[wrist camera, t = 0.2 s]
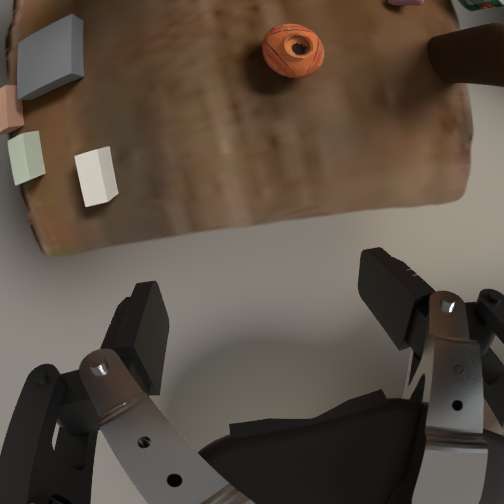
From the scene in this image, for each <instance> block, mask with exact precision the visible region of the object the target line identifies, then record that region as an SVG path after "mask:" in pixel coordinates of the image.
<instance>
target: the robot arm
mask: <svg viewBox="0 0 504 504" xmlns="http://www.w3.org/2000/svg"><path fill="white" fill-rule="evenodd" d="M358 291H359V294H360V297H361V298H362V300H363V301H364V302H365V304H366V305H367V306H368V308H369V309H370V310H371V312H372V313H373V315H374V316H375V317H376V319H377V320H378V321H379V323H380V324H381V326H382V327H383V328H384V330H385V331H386V332H387V334H388V335H389V337H390V338H391V340H392V341H393V342H394V344H395V345H396V346H397V348H398V350H399V351H400V350H403V349H406V348H408V347H411V348H412V349H413V350H412V353H411V356H410V362H409V368H408V374H407V380H406V385H405V391H404V395H403V398H386V396H385V395H384V393H383V391H382V389H381V390H378V391H375V392H372V393H369V394H366V395H363V396H360V397H357V398H354V399H350V400H348V401H346V402H344V403H342V404H340V405H338V406H337V407H335V408H333V409H331V410H329V411H327V412H325V413H323V414H321V415H320V416H317V417H315V418H312V419H263V420H257V421H250V422H243V423H236V424H235V423H234V424H229V427H230V435H227V436H225V437H222V438H220V439H217V440H215V441H213V442H212V443H210V444H208V445H207V446H205V447H204V448H202V449H201V450H200V451H199V452H198V453H197V452H196V451H195V450H194V449H193V448H192V447H191V446H190V444H189V443H188V442H187V441H186V440H185V439H184V438H183V437H182V436H181V435H180V434H179V432H178V431H177V430H176V429H175V428H174V427H173V426H172V424H171V423H170V422H169V421H168V420H167V419H166V417H165V416H164V415H163V414H162V412H161V411H160V410H159V409H158V408H157V406H156V405H155V404H154V403H153V401H152V400H151V399H150V397H149V395H160V389H161V381H162V373H163V366H164V358H165V352H166V345H167V338H168V333H169V318H168V314H167V311H166V308H165V305H164V302H163V299H162V295H161V292H160V289H159V286H158V284H157V282H156V281H149V282H142V283H137V284H136V286H135V288H134V290H133V293H132V295H131V297H126V298H125V299H124V300H123V301H122V302H121V303H120V304H119V305H118V307H117V309H116V311H115V314H114V317H113V318H112V321H111V324H110V326H109V328H108V331H107V333H106V336H105V338H104V340H103V343H102V346H101V348H100V349H99V350H96V351H93V352H92V353H90V354H88V355H87V356H86V357H85V358H84V359H83V360H82V362H81V364H80V366H79V370H75V371H72V372H68V373H64V374H60V373H59V371H58V370H57V368H56V367H55V366H54V365H51V364H43V365H40V366H38V367H36V368H35V369H34V370H32V371H31V373H30V374H29V375H28V377H27V379H26V382H25V384H24V386H23V389H22V391H21V394H20V397H19V399H18V402H17V405H16V407H15V410H14V412H13V415H12V418H11V421H10V424H9V427H8V430H7V433H6V437H5V440H4V444H3V447H2V451H1V455H0V504H90V502H91V486H92V474H93V464H94V455H95V447H96V440H97V434H98V430H101V431H102V433H103V435H104V437H105V438H106V440H107V442H108V444H109V446H110V447H111V449H112V451H113V452H114V454H115V456H116V458H117V459H118V461H119V462H120V464H121V465H122V467H123V469H124V470H125V472H126V473H127V475H128V476H129V478H130V479H131V481H132V482H133V484H134V485H135V486H136V488H137V489H138V491H139V492H140V493H141V495H142V496H143V497H144V499H145V500H146V501H147V503H148V504H504V434H503V435H500V434H497V433H494V432H491V431H489V430H486V429H483V396H484V398H485V400H486V401H487V403H488V404H489V406H490V408H491V409H492V411H493V412H494V414H495V416H496V418H497V420H498V421H499V423H500V425H501V426H502V428H503V433H504V365H503V364H502V362H501V361H500V360H499V358H498V357H497V356H496V354H495V353H494V352H493V351H492V349H491V348H490V345H491V344H492V342H493V340H494V338H495V336H496V335H497V337H498V338H499V339H500V340H501V341H502V342H503V344H504V295H503V294H501V293H500V292H498V291H496V290H493V289H484V290H482V291H481V292H480V294H479V296H478V299H477V302H468V303H464V301H463V300H462V299H461V298H460V297H459V296H458V295H456V294H454V293H452V292H449V291H435V290H434V289H433V288H432V287H430V286H429V285H428V284H427V283H426V282H425V281H424V280H423V279H422V278H421V277H420V276H418V275H417V274H416V273H415V272H414V271H413V270H411V268H410V267H408V266H407V265H406V264H405V263H404V262H402V261H400V260H398V259H396V258H394V257H391V256H390V255H389V254H388V253H387V252H386V251H384V250H383V249H382V248H380V247H378V248H372V249H366V250H363V251H362V253H361V257H360V268H359V278H358ZM56 423H57V424H58V425H59V426H60V427H59V432H58V436H57V441H56V445H55V450H53V447H52V438H53V434H54V429H55V425H56Z"/></svg>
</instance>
